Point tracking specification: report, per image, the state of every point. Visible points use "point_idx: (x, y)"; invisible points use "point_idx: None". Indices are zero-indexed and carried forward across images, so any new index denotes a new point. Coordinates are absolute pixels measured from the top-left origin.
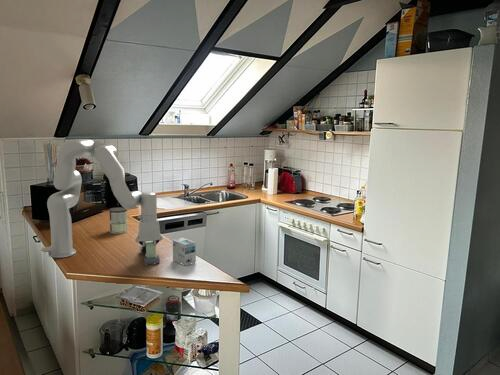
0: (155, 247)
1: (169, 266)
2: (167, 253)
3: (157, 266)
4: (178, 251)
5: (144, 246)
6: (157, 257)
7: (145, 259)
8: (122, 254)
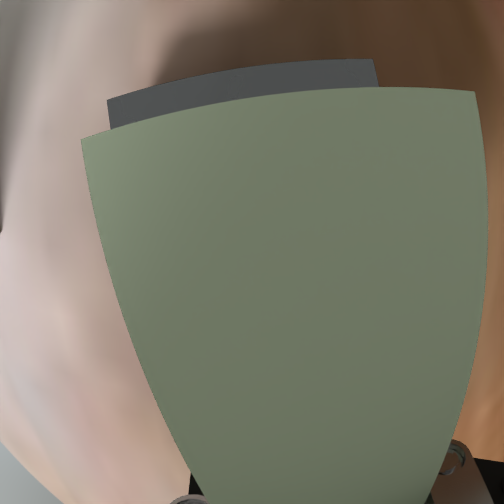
0: (92, 141)
1: (42, 31)
2: (98, 441)
3: (175, 21)
4: None
5: None
6: (143, 111)
7: (372, 85)
8: (481, 423)
